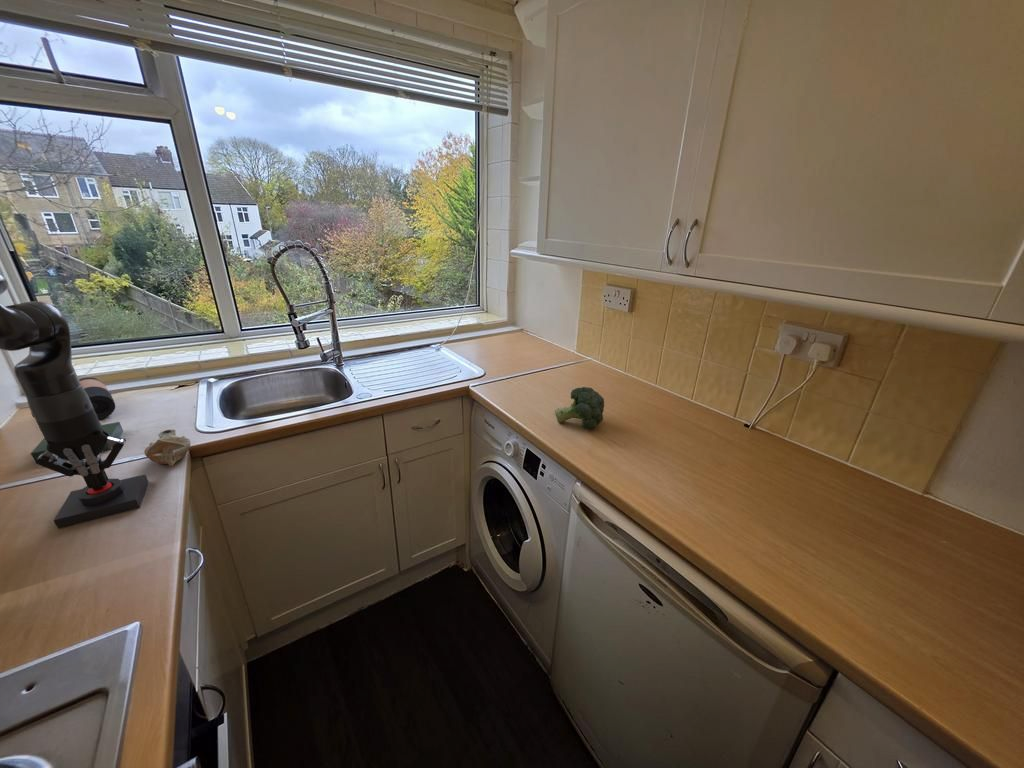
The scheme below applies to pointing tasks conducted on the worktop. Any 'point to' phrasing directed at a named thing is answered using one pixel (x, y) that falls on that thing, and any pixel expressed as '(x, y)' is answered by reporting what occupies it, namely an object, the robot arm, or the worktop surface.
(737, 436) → the worktop surface
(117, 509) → the switch block
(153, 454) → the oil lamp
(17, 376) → the robot arm
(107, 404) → the travel mug
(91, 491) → the light button
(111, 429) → the dimmer panel
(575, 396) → the vegetable
